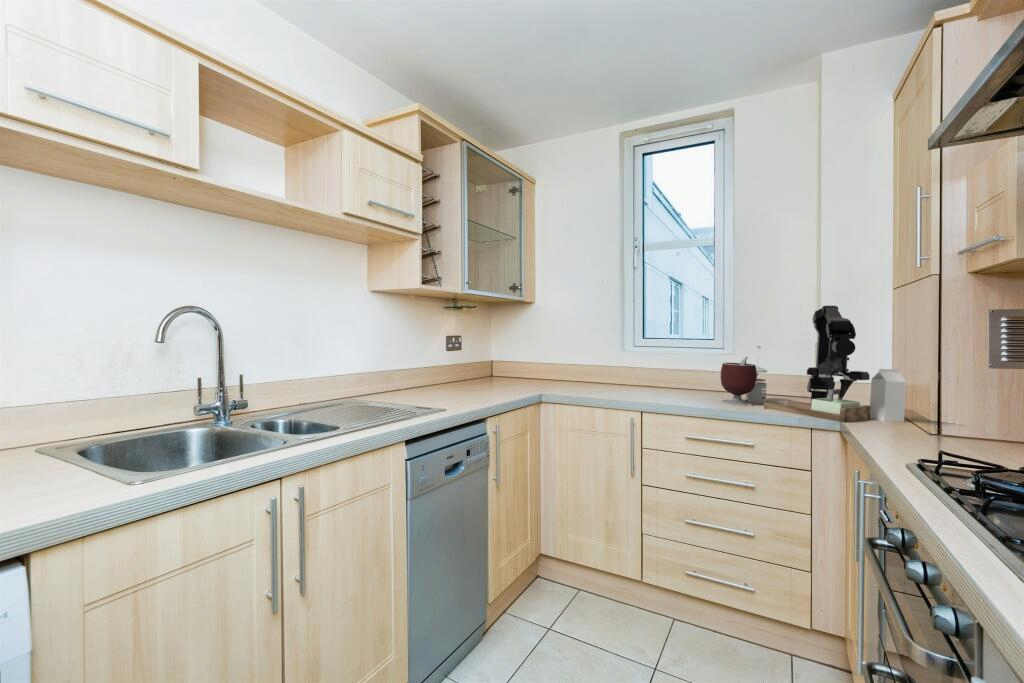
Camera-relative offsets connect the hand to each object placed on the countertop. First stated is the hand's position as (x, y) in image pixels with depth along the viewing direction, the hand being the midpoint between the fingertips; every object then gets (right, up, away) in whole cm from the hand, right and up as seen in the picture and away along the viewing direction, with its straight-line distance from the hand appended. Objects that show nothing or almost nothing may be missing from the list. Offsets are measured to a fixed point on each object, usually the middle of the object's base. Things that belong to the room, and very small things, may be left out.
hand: (835, 397), depth 173 cm
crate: (0, -7, 0) cm, 7 cm away
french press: (-8, -7, +41) cm, 43 cm away
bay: (-4, -8, +7) cm, 11 cm away
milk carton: (+17, -9, -2) cm, 19 cm away
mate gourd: (-21, -7, +31) cm, 38 cm away
